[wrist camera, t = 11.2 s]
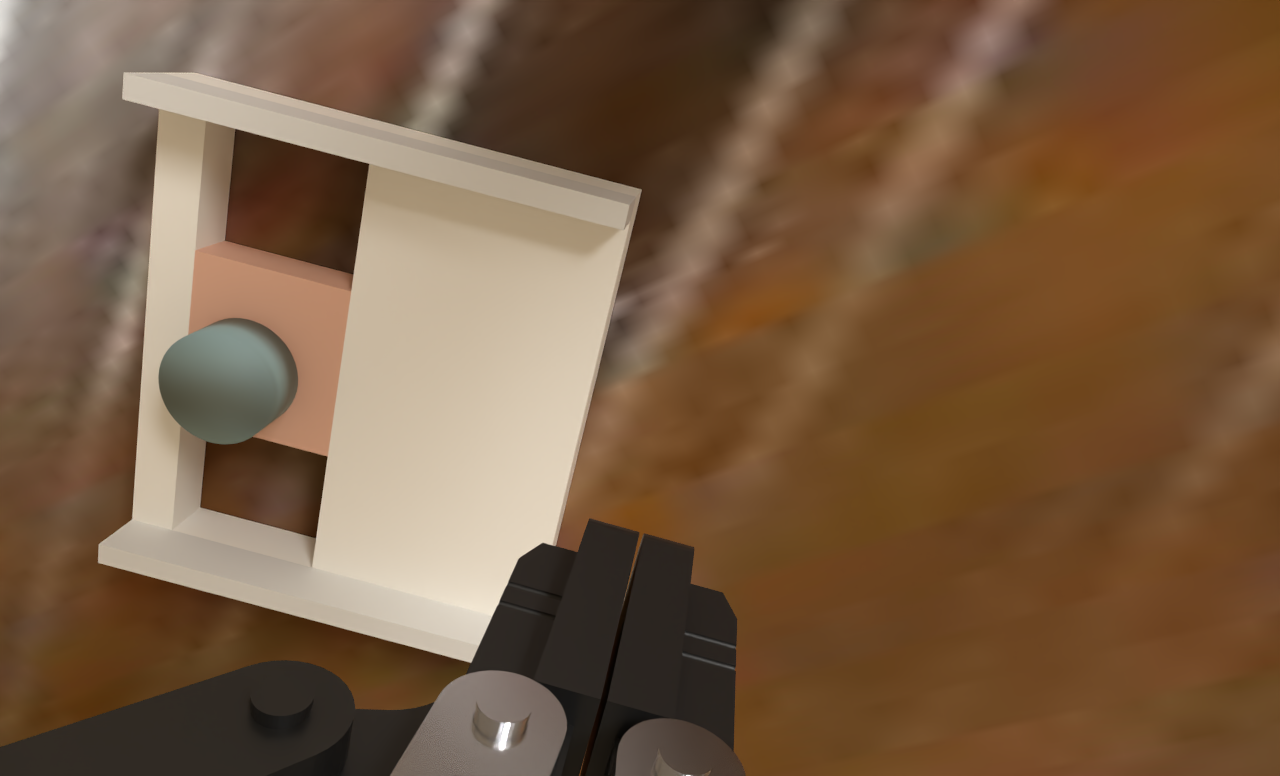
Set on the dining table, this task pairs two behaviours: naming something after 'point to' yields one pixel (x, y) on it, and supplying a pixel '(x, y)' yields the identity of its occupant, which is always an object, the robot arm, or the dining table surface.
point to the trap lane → (379, 366)
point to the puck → (228, 380)
